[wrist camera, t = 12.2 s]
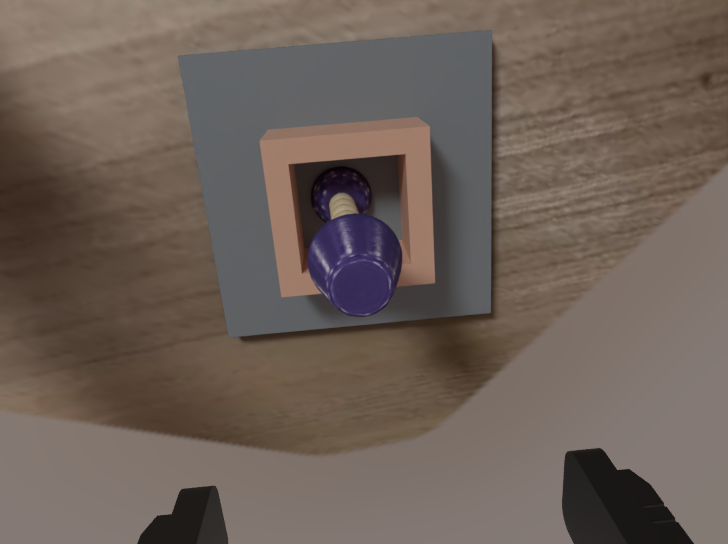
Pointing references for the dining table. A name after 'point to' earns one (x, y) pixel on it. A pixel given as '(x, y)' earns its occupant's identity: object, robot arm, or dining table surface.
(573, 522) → the robot arm
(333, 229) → the toy lamp
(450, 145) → the socket block
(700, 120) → the dining table surface
